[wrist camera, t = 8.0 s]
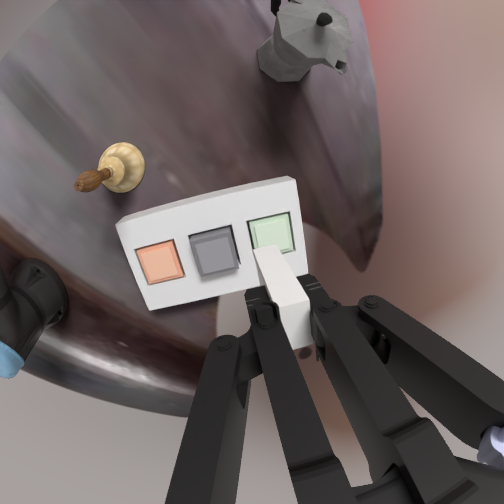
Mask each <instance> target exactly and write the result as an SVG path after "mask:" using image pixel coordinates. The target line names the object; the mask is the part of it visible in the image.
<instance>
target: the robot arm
mask: <svg viewBox="0 0 504 504" xmlns="http://www.w3.org/2000/svg"><path fill="white" fill-rule="evenodd" d="M253 253H254V258H255V263H256V268H257V273H258V278H259V283H260V286H259V287H255V288H251V289H247V291H246V293H245V295H244V296H245V300H246V304H247V309H248V313H249V318H250V322H251V327H250V329H249V330H248V332H247V333H245V334H244V335H242V336H240V337H238V338H237V337H235V336H233V335H222V336H219V337H217V338H215V339H214V340H213V341H212V342H211V344H210V345H209V348H208V352H207V355H206V358H205V362H204V365H203V369H202V372H201V376H200V379H199V382H198V386H197V389H196V393H195V396H194V400H193V403H192V407H191V410H190V414H189V417H188V421H187V425H186V428H185V432H184V435H183V439H182V442H181V446H180V449H179V453H178V456H177V460H176V464H175V467H174V471H173V475H172V478H171V482H170V486H169V489H168V493H167V497H166V501H165V504H235V502H236V495H237V487H238V480H239V473H240V466H241V458H242V450H243V443H244V435H245V426H246V419H247V411H248V403H249V395H250V387H251V379H253V378H255V377H257V376H258V375H260V374H262V373H263V374H264V378H265V382H266V386H267V390H268V394H269V397H270V402H271V405H272V409H273V413H274V417H275V421H276V424H277V428H278V432H279V436H280V440H281V443H282V447H283V451H284V454H285V458H286V462H287V465H288V469H289V473H290V477H291V480H292V483H293V487H294V491H295V494H296V498H297V501H298V504H504V381H503V380H502V379H501V378H499V377H498V376H496V375H495V374H494V373H492V372H491V371H489V370H488V369H487V368H485V367H484V366H483V365H481V364H480V363H478V362H477V361H475V360H474V359H473V358H471V357H470V356H468V355H467V354H465V353H464V352H462V351H461V350H460V349H458V348H457V347H455V346H454V345H452V344H451V343H450V342H448V341H447V340H445V339H444V338H442V337H441V336H439V335H438V334H436V333H435V332H433V331H432V330H430V329H429V328H427V327H426V326H424V325H423V324H421V323H420V322H418V321H417V320H415V319H414V318H412V317H410V316H409V315H408V314H406V313H404V312H403V311H401V310H400V309H399V308H397V307H395V306H394V305H392V304H391V303H389V302H388V301H386V300H385V299H383V298H381V297H379V296H375V295H369V296H365V297H362V298H361V299H360V300H359V302H358V305H357V306H342V305H341V304H340V303H339V302H338V301H336V300H333V299H331V298H330V297H329V296H328V294H327V293H326V291H325V290H324V289H323V287H322V286H321V285H320V283H319V282H318V280H317V279H316V278H315V277H314V276H312V275H310V274H305V275H301V276H297V277H296V276H295V275H294V273H293V271H292V270H291V268H290V267H289V265H288V263H287V262H286V260H285V258H284V257H283V255H282V254H281V252H280V250H279V249H278V247H277V245H276V244H275V245H270V246H266V247H262V248H257V249H253ZM67 307H68V297H67V292H66V289H65V287H64V284H63V282H62V281H61V279H60V277H59V276H58V275H57V273H56V272H55V271H54V270H53V269H52V268H51V267H50V266H49V265H48V264H46V263H45V262H43V261H41V260H39V259H35V258H28V259H25V260H23V261H22V262H21V263H19V264H18V265H17V266H16V267H15V269H14V270H13V272H12V274H11V277H10V279H9V281H7V279H6V276H5V274H4V271H3V268H2V266H1V263H0V377H2V378H13V377H14V376H15V375H16V374H17V373H18V371H19V370H20V369H21V367H22V366H23V365H24V362H25V360H26V358H27V357H28V355H29V353H30V352H31V350H32V348H33V347H34V345H35V343H36V342H37V340H38V339H39V337H40V335H41V334H42V332H43V331H44V330H46V329H48V328H49V327H51V326H53V325H54V324H56V323H58V322H59V321H60V320H61V319H62V317H63V316H64V314H65V313H66V310H67ZM382 334H383V335H384V336H383V335H382ZM312 337H313V339H314V341H315V344H316V360H317V361H319V358H320V360H321V362H322V364H323V366H324V368H325V370H326V373H327V375H328V377H329V379H330V381H331V383H332V385H333V387H334V389H335V392H336V394H337V396H338V398H339V400H340V402H341V404H342V406H343V409H344V411H345V413H346V415H347V417H348V419H349V421H350V423H351V425H352V428H353V430H354V432H355V434H356V437H357V439H358V441H359V443H360V445H361V447H362V450H363V452H364V454H365V456H366V458H367V461H368V464H369V471H370V476H371V479H372V481H373V484H368V485H363V486H358V487H351V486H350V483H349V481H348V478H347V476H346V474H345V471H344V468H343V466H342V464H341V462H340V460H339V459H338V458H337V457H336V456H335V455H334V453H333V450H332V448H331V445H330V443H329V441H328V438H327V435H326V433H325V430H324V428H323V425H322V423H321V420H320V417H319V415H318V413H317V410H316V408H315V405H314V402H313V400H312V398H311V395H310V392H309V390H308V387H307V385H306V382H305V380H304V377H303V375H302V372H301V369H300V367H299V364H298V362H297V360H296V357H295V354H294V352H293V350H294V349H297V348H301V347H304V346H308V345H311V344H313V339H312ZM399 387H401V388H402V389H403V390H404V391H405V392H406V393H407V394H408V395H409V396H411V397H412V398H413V399H414V400H415V401H416V402H418V404H420V405H421V406H422V407H423V408H424V409H425V410H427V411H428V412H429V413H430V414H431V415H432V416H433V417H434V418H435V419H437V420H438V421H439V422H440V423H441V424H442V425H443V426H444V427H446V428H447V429H448V430H449V431H450V432H451V433H452V434H453V435H455V436H456V437H457V438H458V439H460V440H461V441H462V442H464V443H465V444H467V445H469V446H471V447H472V448H475V449H477V450H479V452H478V454H477V460H478V461H479V462H480V463H479V462H474V461H471V460H467V459H463V458H460V457H456V456H454V455H453V453H452V452H451V450H450V449H449V447H448V445H447V444H446V443H445V440H444V439H443V437H442V436H441V434H440V433H439V431H438V429H437V428H436V426H435V425H434V423H433V422H432V421H431V420H430V419H428V418H425V417H424V418H421V417H419V416H418V415H417V414H416V412H415V411H414V409H413V408H412V406H411V405H410V403H409V402H408V400H407V398H406V397H405V395H404V394H403V392H402V391H401V389H400V388H399ZM484 462H486V463H487V464H488V465H487V464H482V463H484Z"/></svg>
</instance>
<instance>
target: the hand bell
mask: <svg viewBox="0 0 504 504" xmlns="http://www.w3.org/2000/svg"><path fill="white" fill-rule="evenodd" d="M144 171H145V163H144V158H143V156H142V154H141V152H140V151H139V150H138V149H137V148H136V147H135V146H133V145H132V144H129V143H117V144H114V145H112V146H110V147H109V148H108V149H106V150H105V152H104V153H103V154H102V156H101V158H100V161H99V167H98V170H88V171H85V172H83V173H82V174H81V175H80V176H79V177H78V179H77V180H76V181H75V183H74V189H75V190H76V191H81V192H90V191H93V190H95V189H96V188H97V187H98V186H99V185H100V184H101V183H103V184H104V185H105V186H106V187H107V188H108V189H109V190H111V191H114V192H118V193H123V192H128V191H130V190H132V189H134V188H135V187H136V186H137V185H138V184H139V183H140V181H141V180H142V177H143V175H144Z"/></svg>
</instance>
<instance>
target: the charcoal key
mask: <svg viewBox="0 0 504 504" xmlns="http://www.w3.org/2000/svg"><path fill="white" fill-rule="evenodd" d="M190 244H191V247H192V250H193V254H194V257H195V260H196V264H197V267H198V270H199V273H200V276H201V278H202V277H206V276H210V275H214V274H219V273H223V272H227V271H231V270H236V269H239V264H238V260H237V256H236V252H235V247H234V243H233V239H232V235H231V231H230V227H229V226H225V227H221V228H217V229H212V230H208V231H204V232H200V233H196V234H192V235H191V238H190Z"/></svg>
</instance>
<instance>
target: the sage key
mask: <svg viewBox="0 0 504 504" xmlns="http://www.w3.org/2000/svg"><path fill="white" fill-rule="evenodd" d="M248 225H249V230H250V234H251V239H252V244H253V249H257V248H262V247H266V246H270V245H275V244H276V245H277V247H278V249H279V250H280V252H281V253H283V252H287V251H291V250H293V244H292V237H291V230H290V224H289V217H288V214H287V213H286V212H284V213H279V214H274V215H270V216H266V217H261V218H257V219H252V220H248Z"/></svg>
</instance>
